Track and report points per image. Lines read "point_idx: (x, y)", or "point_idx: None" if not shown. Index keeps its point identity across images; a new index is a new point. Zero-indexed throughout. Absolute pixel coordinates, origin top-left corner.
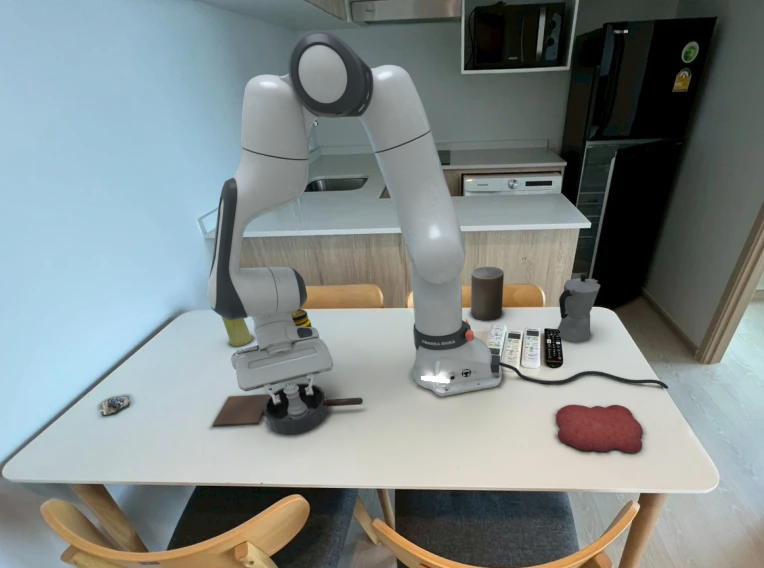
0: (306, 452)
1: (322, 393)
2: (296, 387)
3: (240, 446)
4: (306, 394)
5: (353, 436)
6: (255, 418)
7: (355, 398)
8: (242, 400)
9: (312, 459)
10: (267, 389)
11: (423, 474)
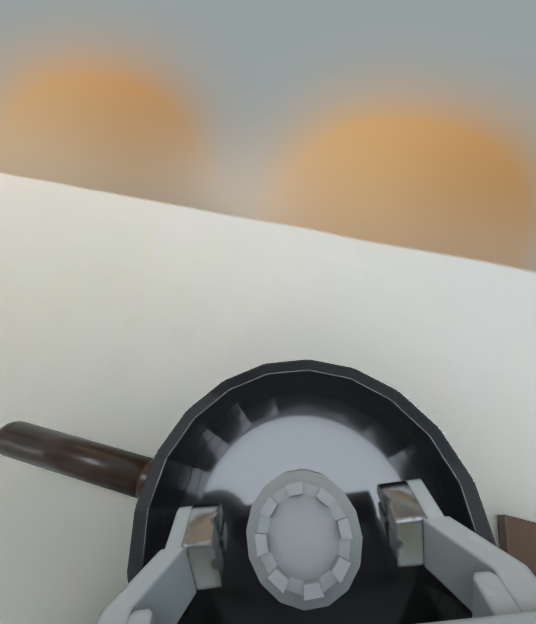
0: (275, 300)
1: (140, 549)
2: (258, 519)
3: (520, 384)
4: (218, 504)
5: (131, 326)
6: (529, 556)
7: (15, 439)
8: None
9: (260, 272)
10: (501, 566)
11: (47, 193)
